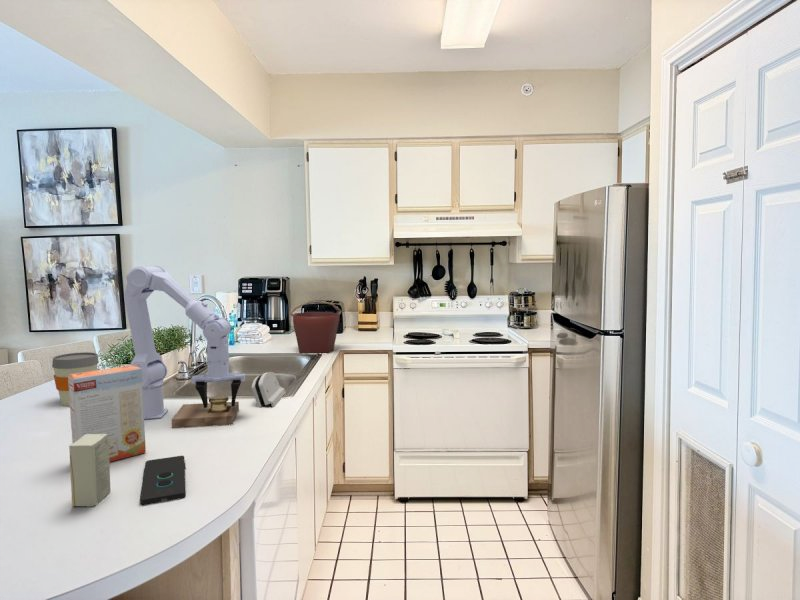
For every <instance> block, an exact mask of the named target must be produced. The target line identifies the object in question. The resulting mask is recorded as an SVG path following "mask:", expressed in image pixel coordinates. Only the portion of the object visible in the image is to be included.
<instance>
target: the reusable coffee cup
mask: <svg viewBox="0 0 800 600" xmlns="http://www.w3.org/2000/svg"><path fill="white" fill-rule="evenodd" d="M98 364H99V356H98V353H96V352H87V351H86V352H71V353H65V354H59V355H56V356H54V357H52V364H51V367H52V368H53V371H54V375H53V379H54V384H55V388H56V390H57V391H58V395H59V400H60V404H61V405H62V406H65V407H70V401H69V386H68V375H69V374H76V373H82V372H89V371H96V370H98Z"/></svg>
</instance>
